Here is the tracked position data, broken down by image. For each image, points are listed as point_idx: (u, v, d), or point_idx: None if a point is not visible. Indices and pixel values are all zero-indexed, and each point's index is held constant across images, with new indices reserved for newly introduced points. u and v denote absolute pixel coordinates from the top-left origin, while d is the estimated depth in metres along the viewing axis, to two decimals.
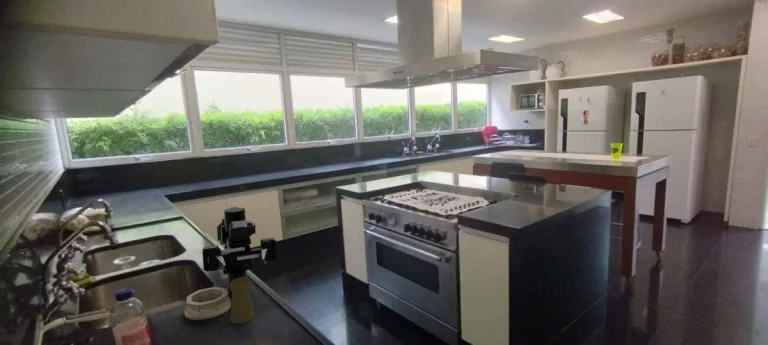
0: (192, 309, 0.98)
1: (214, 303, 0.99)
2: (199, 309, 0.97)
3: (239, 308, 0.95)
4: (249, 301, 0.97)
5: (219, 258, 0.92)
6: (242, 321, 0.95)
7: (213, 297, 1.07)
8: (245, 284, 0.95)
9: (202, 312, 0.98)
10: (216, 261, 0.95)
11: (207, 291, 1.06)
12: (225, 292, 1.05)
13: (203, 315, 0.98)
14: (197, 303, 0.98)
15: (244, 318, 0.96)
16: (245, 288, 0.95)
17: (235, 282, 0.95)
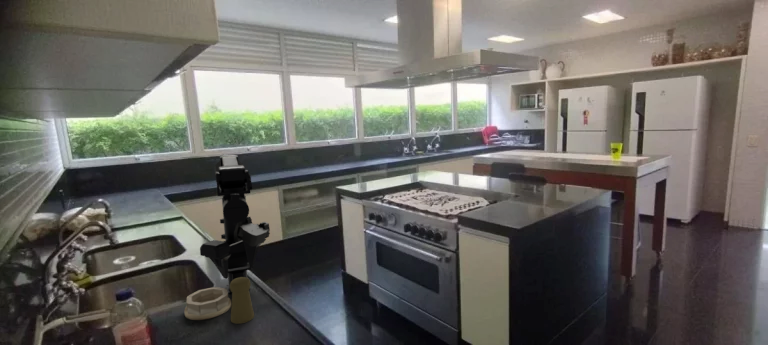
0: (192, 309, 0.98)
1: (214, 303, 0.99)
2: (199, 309, 0.97)
3: (239, 308, 0.95)
4: (249, 301, 0.97)
5: (225, 265, 0.90)
6: (242, 321, 0.95)
7: (213, 297, 1.07)
8: (245, 284, 0.95)
9: (202, 312, 0.98)
10: None
11: (207, 291, 1.06)
12: (225, 292, 1.05)
13: (203, 315, 0.98)
14: (197, 303, 0.98)
15: (244, 318, 0.96)
16: (245, 288, 0.95)
17: (235, 282, 0.95)
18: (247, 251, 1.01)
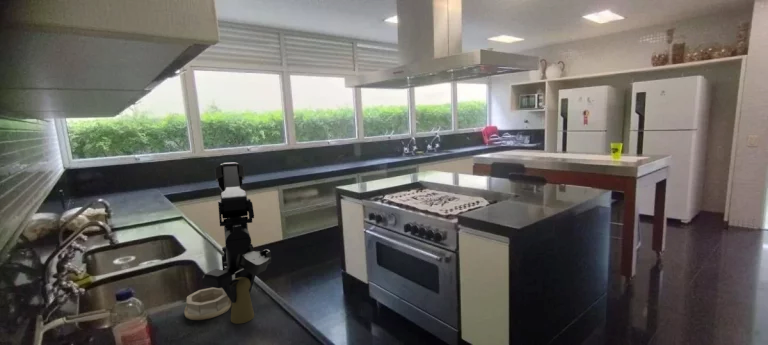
0: (192, 309, 0.98)
1: (214, 303, 0.99)
2: (199, 309, 0.97)
3: (239, 308, 0.95)
4: (249, 301, 0.97)
5: (233, 290, 0.93)
6: (242, 321, 0.95)
7: (213, 297, 1.07)
8: (245, 284, 0.95)
9: (202, 312, 0.98)
10: None
11: (207, 291, 1.06)
12: None
13: (203, 315, 0.98)
14: (197, 303, 0.98)
15: (244, 318, 0.96)
16: (245, 288, 0.95)
17: None
18: None
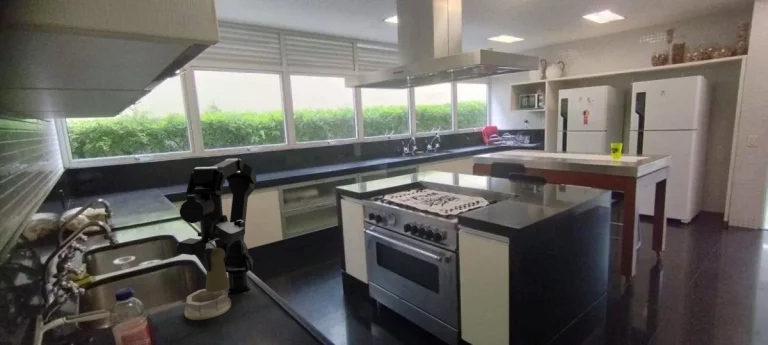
0: (192, 309, 0.98)
1: (214, 303, 0.99)
2: (199, 309, 0.97)
3: (214, 276, 0.98)
4: (224, 270, 1.00)
5: (208, 259, 0.96)
6: (217, 289, 0.98)
7: (213, 297, 1.07)
8: (219, 254, 0.98)
9: (202, 312, 0.98)
10: None
11: (207, 291, 1.06)
12: (225, 292, 1.05)
13: (203, 315, 0.98)
14: (197, 303, 0.98)
15: (219, 286, 0.98)
16: (219, 257, 0.98)
17: None
18: None
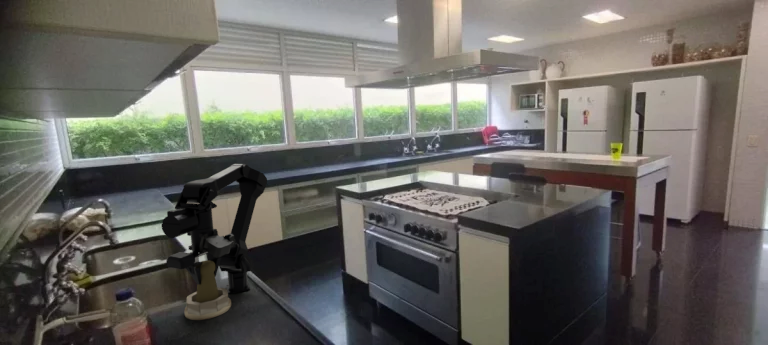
0: (192, 309, 0.98)
1: (214, 303, 0.99)
2: (199, 309, 0.97)
3: (204, 289, 1.00)
4: (214, 283, 1.02)
5: (197, 272, 0.98)
6: None
7: None
8: (209, 267, 1.00)
9: (202, 312, 0.98)
10: None
11: None
12: (225, 292, 1.05)
13: (203, 315, 0.98)
14: (197, 303, 0.98)
15: (208, 298, 1.01)
16: (209, 270, 1.00)
17: None
18: None
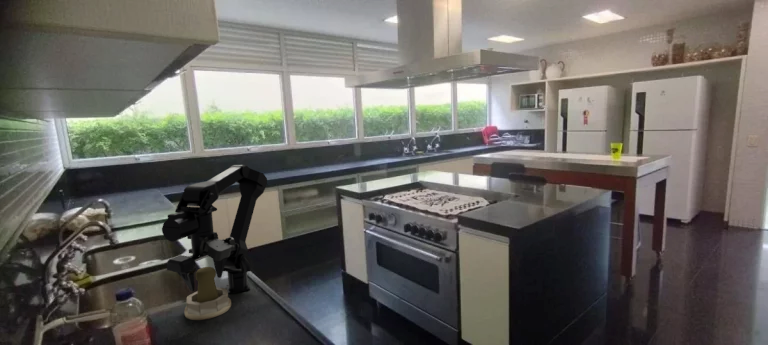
0: (192, 309, 0.98)
1: (214, 303, 0.99)
2: (199, 309, 0.97)
3: (204, 296, 1.00)
4: (214, 289, 1.02)
5: (191, 279, 0.96)
6: None
7: None
8: (209, 273, 1.00)
9: (202, 312, 0.98)
10: None
11: None
12: (225, 292, 1.05)
13: (203, 315, 0.98)
14: (197, 303, 0.98)
15: None
16: (209, 277, 1.00)
17: (200, 271, 1.00)
18: (215, 264, 1.07)
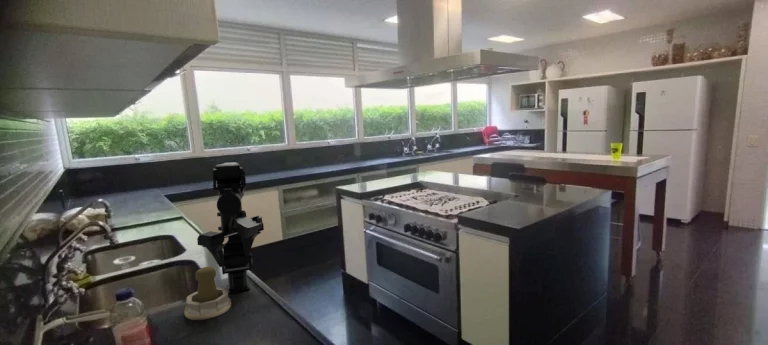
0: (192, 309, 0.98)
1: (214, 303, 0.99)
2: (199, 309, 0.97)
3: (204, 296, 1.00)
4: (214, 289, 1.02)
5: (220, 254, 0.98)
6: None
7: None
8: (209, 273, 1.00)
9: (202, 312, 0.98)
10: None
11: None
12: (225, 292, 1.05)
13: (203, 315, 0.98)
14: (197, 303, 0.98)
15: None
16: (209, 276, 1.00)
17: (200, 271, 1.00)
18: (243, 243, 1.09)
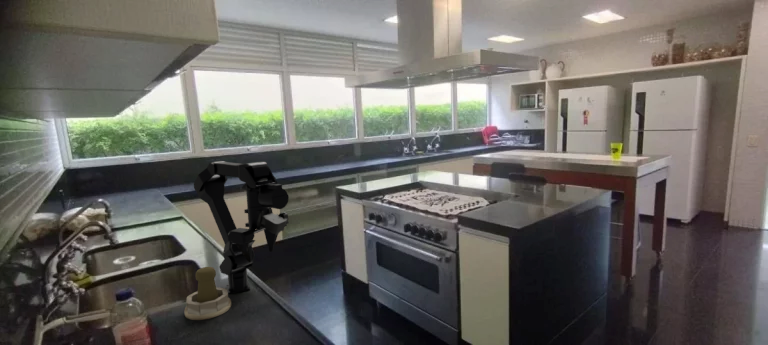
0: (192, 309, 0.98)
1: (214, 303, 0.99)
2: (199, 309, 0.97)
3: (204, 296, 1.00)
4: (214, 289, 1.02)
5: (249, 250, 1.02)
6: None
7: None
8: (209, 273, 1.00)
9: (202, 312, 0.98)
10: None
11: None
12: (225, 292, 1.05)
13: (203, 315, 0.98)
14: (197, 303, 0.98)
15: None
16: (209, 276, 1.00)
17: (200, 271, 1.00)
18: (267, 238, 1.12)
